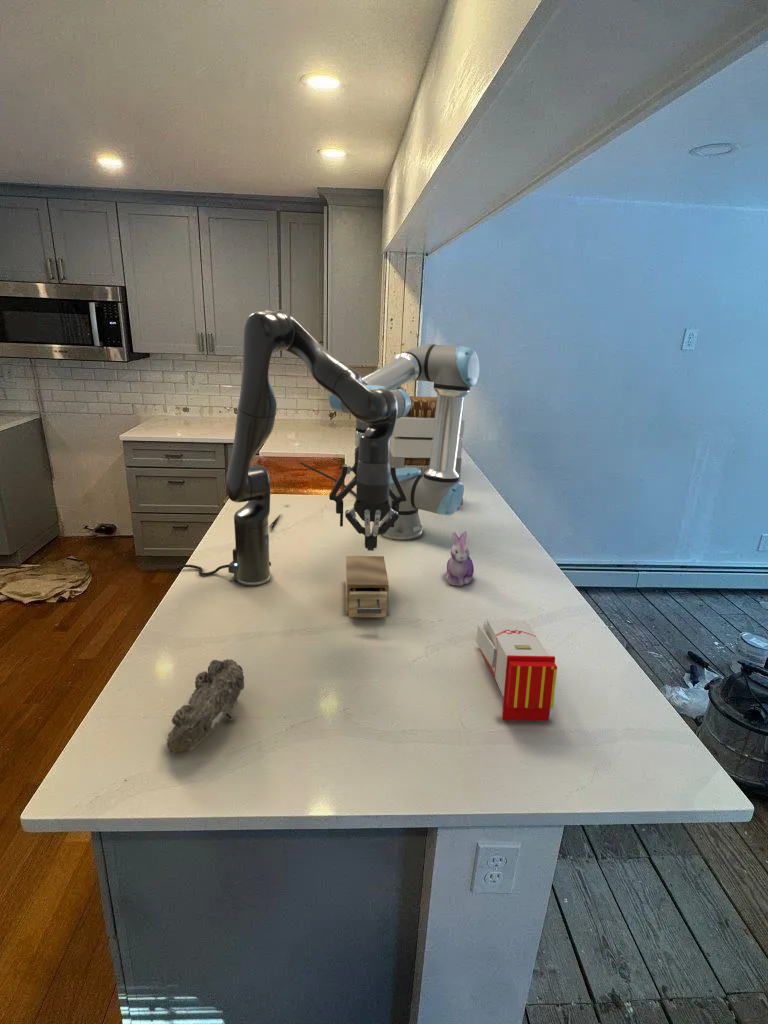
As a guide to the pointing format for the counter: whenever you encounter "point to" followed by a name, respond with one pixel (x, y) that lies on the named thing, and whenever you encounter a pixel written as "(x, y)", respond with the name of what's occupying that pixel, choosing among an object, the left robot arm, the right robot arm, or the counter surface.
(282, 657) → the counter surface
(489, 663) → the toy
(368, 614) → the drawer
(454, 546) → the figurine
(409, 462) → the white crate
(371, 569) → the cabinet
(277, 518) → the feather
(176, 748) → the fossil
